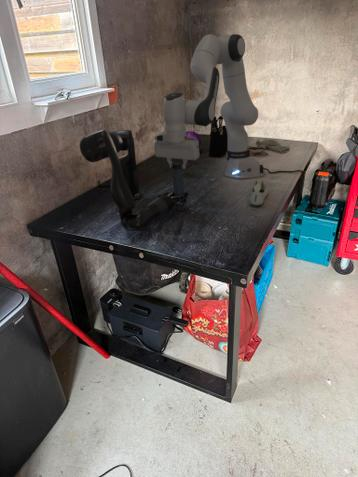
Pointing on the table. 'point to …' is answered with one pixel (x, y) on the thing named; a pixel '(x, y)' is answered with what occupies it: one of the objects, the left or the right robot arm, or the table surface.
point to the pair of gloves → (267, 144)
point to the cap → (177, 165)
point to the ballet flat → (258, 193)
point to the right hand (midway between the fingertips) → (177, 168)
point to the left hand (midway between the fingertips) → (182, 193)
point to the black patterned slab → (218, 140)
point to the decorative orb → (193, 134)
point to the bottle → (178, 186)
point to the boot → (213, 125)
